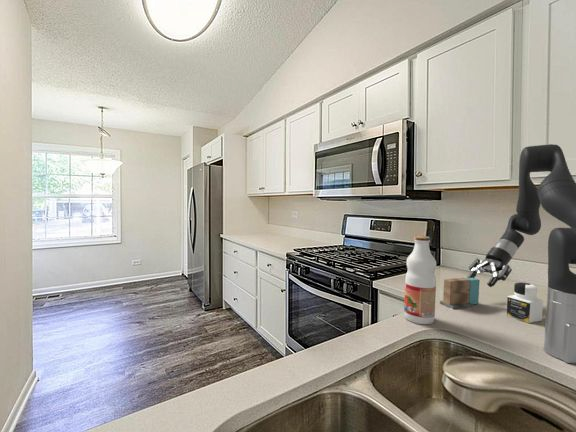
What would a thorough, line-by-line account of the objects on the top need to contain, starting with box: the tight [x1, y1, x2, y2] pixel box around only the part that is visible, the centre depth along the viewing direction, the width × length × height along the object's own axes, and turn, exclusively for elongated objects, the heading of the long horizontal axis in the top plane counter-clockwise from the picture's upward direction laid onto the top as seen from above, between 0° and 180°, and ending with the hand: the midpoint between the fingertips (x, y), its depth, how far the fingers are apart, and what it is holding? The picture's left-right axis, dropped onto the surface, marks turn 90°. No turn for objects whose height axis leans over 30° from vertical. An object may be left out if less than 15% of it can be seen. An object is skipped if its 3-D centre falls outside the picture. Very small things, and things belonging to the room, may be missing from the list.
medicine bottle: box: [506, 282, 544, 324], centre depth 99 cm, size 7×7×12 cm
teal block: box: [465, 277, 481, 305], centre depth 113 cm, size 4×3×10 cm, turn 107°
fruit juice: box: [403, 235, 437, 325], centre depth 96 cm, size 9×9×28 cm
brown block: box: [439, 277, 473, 310], centre depth 111 cm, size 10×6×10 cm, turn 107°
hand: (478, 282), depth 114 cm, fingers open, 8 cm apart
